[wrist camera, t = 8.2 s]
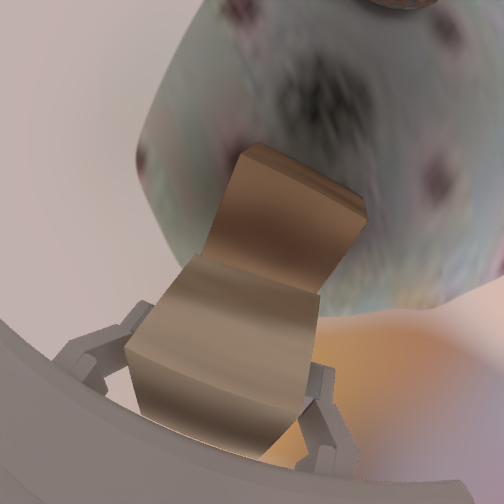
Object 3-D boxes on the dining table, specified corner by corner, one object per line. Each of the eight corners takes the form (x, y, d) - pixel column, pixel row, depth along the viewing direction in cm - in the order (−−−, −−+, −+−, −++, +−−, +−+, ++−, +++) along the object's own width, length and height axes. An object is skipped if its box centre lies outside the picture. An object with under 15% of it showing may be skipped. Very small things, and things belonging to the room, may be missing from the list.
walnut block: (258, 141, 19) (240, 153, 15) (362, 196, 19) (368, 220, 15) (220, 232, 23) (199, 258, 20) (309, 277, 23) (302, 310, 20)
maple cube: (195, 253, 11) (123, 346, 7) (320, 295, 11) (301, 414, 7) (187, 334, 14) (141, 414, 10) (283, 368, 13) (257, 459, 9)
